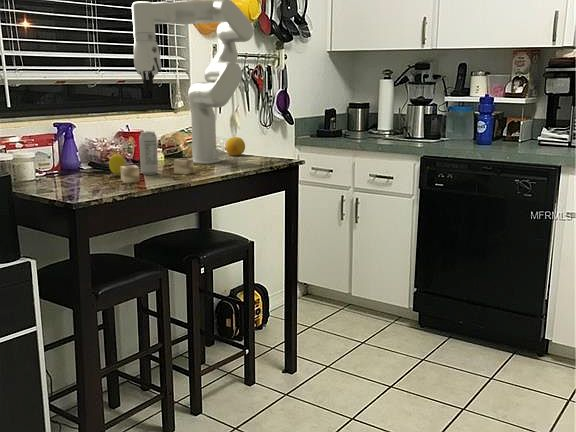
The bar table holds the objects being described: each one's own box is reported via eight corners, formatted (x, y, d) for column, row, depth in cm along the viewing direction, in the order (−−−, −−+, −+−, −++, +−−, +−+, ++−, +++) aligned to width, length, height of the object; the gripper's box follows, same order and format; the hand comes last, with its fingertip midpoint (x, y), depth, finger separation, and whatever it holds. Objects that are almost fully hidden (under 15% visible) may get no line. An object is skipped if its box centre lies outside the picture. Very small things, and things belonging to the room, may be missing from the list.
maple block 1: (135, 179, 215) (134, 164, 214) (139, 182, 211) (138, 166, 209) (121, 180, 213) (120, 165, 211) (124, 183, 208) (123, 167, 207)
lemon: (120, 173, 225) (119, 151, 223) (128, 175, 221) (127, 153, 220) (106, 175, 222) (105, 152, 220) (114, 177, 218) (113, 154, 216)
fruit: (221, 155, 271) (221, 137, 269) (234, 153, 277) (234, 135, 275) (236, 157, 265) (235, 138, 263) (249, 155, 271) (249, 137, 269)
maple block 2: (182, 171, 232) (181, 157, 230) (193, 172, 229) (193, 158, 228) (174, 173, 227) (173, 159, 226) (185, 174, 225) (184, 160, 224)
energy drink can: (154, 171, 230) (152, 130, 226) (160, 174, 225) (159, 132, 221) (138, 173, 226) (136, 131, 223) (144, 175, 221) (142, 133, 218)
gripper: (166, 38, 221) (170, 90, 225) (140, 38, 230) (144, 89, 235) (149, 38, 215) (153, 92, 220) (123, 38, 224) (127, 90, 229)
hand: (148, 90), depth 227 cm, fingers closed
